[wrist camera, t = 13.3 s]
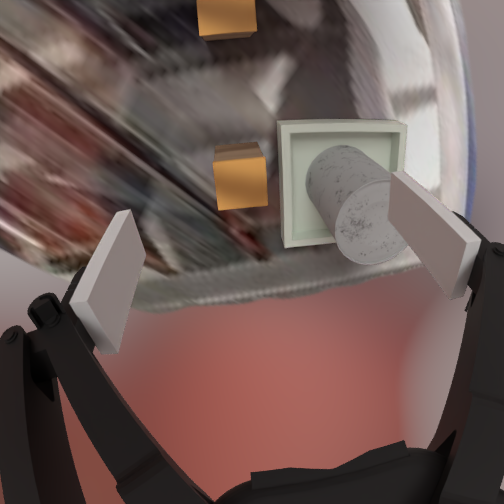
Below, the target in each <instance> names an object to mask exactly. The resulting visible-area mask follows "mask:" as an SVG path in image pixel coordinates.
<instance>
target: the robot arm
mask: <svg viewBox="0 0 504 504" xmlns="http://www.w3.org/2000/svg"><path fill="white" fill-rule="evenodd" d="M388 220H389V221H390V223H391V224H392V225H393V226H394V227H395V229H396V230H397V231H398V232H399V234H400V235H401V236H402V237H403V239H404V240H405V241H406V242H407V244H408V245H409V246H410V247H411V249H412V250H413V251H414V252H415V254H416V255H417V256H418V258H419V259H420V260H421V262H422V263H423V264H424V266H425V267H426V268H427V270H428V271H429V272H430V274H431V275H432V276H433V278H434V279H435V280H436V282H437V283H438V284H439V286H440V287H441V289H442V290H443V292H444V293H445V294H446V296H447V297H448V299H449V300H452V299H456V298H459V297H463V296H464V294H465V291H466V288H467V285H468V286H469V287H470V288H471V289H472V293H471V296H470V298H469V301H468V303H467V306H466V309H465V311H466V312H467V310H468V312H467V318H466V323H465V329H464V334H463V339H462V343H461V348H460V353H459V357H458V361H457V365H456V369H455V373H454V377H453V380H452V384H451V388H450V391H449V394H448V398H447V401H446V404H445V407H444V410H443V414H442V417H441V420H440V423H439V425H438V428H437V431H436V433H435V436H434V438H433V439H432V441H431V443H430V445H429V446H428V448H427V449H422V448H407V447H406V444H405V441H404V440H403V441H400V442H397V443H393V444H390V445H387V446H384V447H380V448H377V449H373V450H370V451H368V452H366V453H364V454H363V455H360V456H359V457H357V458H355V459H353V460H351V461H349V462H347V463H345V464H343V465H341V466H339V467H337V468H334V469H305V468H283V469H276V470H269V471H260V472H251V480H250V481H247V482H244V483H242V484H239V485H237V486H235V487H234V488H232V489H230V490H228V491H227V492H226V493H224V494H223V495H222V496H220V497H219V499H217V500H216V501H215V502H214V501H213V500H212V499H211V498H210V497H209V496H208V495H207V494H206V493H205V492H204V491H203V490H202V489H201V488H200V487H198V486H197V485H196V484H195V483H194V482H193V481H192V480H191V479H190V478H189V477H188V476H187V474H186V473H185V472H184V471H183V470H182V469H181V468H180V467H179V466H178V465H177V464H176V463H175V461H174V460H173V459H172V458H171V457H170V456H169V455H168V454H167V452H166V451H165V450H164V449H163V448H162V447H161V445H160V444H159V443H158V442H157V441H156V439H155V438H154V437H153V436H152V435H151V433H149V431H148V430H147V429H146V427H145V426H144V425H143V423H142V422H141V421H140V420H139V418H138V417H137V416H136V414H135V413H134V412H133V411H132V409H131V408H130V406H129V405H128V404H127V402H126V401H125V400H124V398H123V397H122V396H121V394H120V393H119V391H118V390H117V388H116V387H115V386H114V384H113V383H112V381H111V380H110V378H109V377H108V376H107V374H106V373H105V371H104V369H103V368H102V366H101V365H100V363H99V362H98V360H97V359H96V357H95V356H94V354H93V350H94V347H95V346H96V347H97V348H98V350H99V351H100V353H101V354H118V353H119V348H120V344H121V340H122V336H123V333H124V329H125V325H126V321H127V318H128V314H129V310H130V307H131V303H132V300H133V296H134V293H135V289H136V286H137V283H138V279H139V276H140V273H141V270H142V266H143V263H144V260H145V257H146V253H145V250H144V247H143V245H142V242H141V239H140V236H139V233H138V230H137V227H136V224H135V221H134V218H133V215H132V212H131V209H129V210H125V211H120V212H117V213H116V214H115V216H114V218H113V220H112V221H111V223H110V225H109V227H108V228H107V230H106V232H105V234H104V235H103V237H102V239H101V241H100V243H99V245H98V246H97V248H96V250H95V252H94V254H93V256H92V258H91V260H90V262H89V264H88V265H87V266H86V267H82V268H81V269H80V270H79V271H78V272H77V273H76V274H75V276H74V277H73V279H72V281H71V284H70V285H69V287H68V291H66V293H65V295H64V297H63V299H62V301H61V303H60V301H59V300H58V298H57V296H56V295H55V294H54V293H45V294H43V295H41V296H39V297H38V298H36V299H35V300H34V301H33V302H32V303H31V304H30V306H29V308H28V315H29V317H30V319H31V320H32V321H33V323H34V324H35V326H36V327H37V330H34V331H31V332H29V333H26V332H25V331H24V329H23V328H22V327H21V326H18V325H16V326H12V327H10V328H9V329H7V330H6V331H5V332H4V333H3V335H2V336H1V338H0V475H1V482H2V488H3V495H4V500H5V504H86V501H85V498H84V495H83V492H82V489H81V486H80V482H79V479H78V476H77V472H76V469H75V465H74V461H73V458H72V454H71V450H70V445H69V441H68V437H67V432H66V428H65V423H64V417H63V412H62V407H61V401H60V395H59V388H58V381H57V377H58V379H59V381H60V383H61V385H62V387H63V389H64V391H65V393H66V395H67V397H68V400H69V401H70V403H71V406H72V407H73V409H74V411H75V413H76V415H77V417H78V419H79V421H80V422H81V424H82V426H83V428H84V430H85V431H86V433H87V435H88V437H89V438H90V440H91V442H92V444H93V445H94V447H95V449H96V450H97V451H98V453H99V455H100V456H101V458H102V460H103V461H104V463H105V464H106V466H107V467H108V469H109V471H110V472H111V474H112V475H113V476H114V478H115V480H116V482H117V485H116V489H117V492H118V493H119V495H120V496H121V498H122V499H123V501H124V502H125V503H126V504H504V491H503V490H502V489H500V486H501V483H502V479H503V476H504V244H501V243H497V242H492V243H490V242H489V241H488V240H487V239H486V238H485V237H484V236H483V235H482V234H481V233H480V232H479V231H478V230H477V229H474V226H472V225H471V224H469V222H468V221H467V220H466V219H465V218H464V217H463V216H461V215H459V214H457V213H456V212H454V211H450V210H449V209H448V208H447V207H446V206H445V205H444V204H443V203H441V202H440V201H439V200H438V199H437V198H436V197H435V196H433V195H432V194H431V193H430V192H429V191H427V190H426V189H425V188H424V187H423V186H422V185H420V184H419V183H418V182H417V181H415V180H414V179H413V178H412V177H411V176H409V175H408V174H407V173H406V172H404V171H398V172H391V182H390V197H389V209H388Z"/></svg>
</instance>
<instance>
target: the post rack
mask: <svg viewBox="0 0 504 504" xmlns="http://www.w3.org/2000/svg"><path fill="white" fill-rule="evenodd" d="M197 12H198V24H199V36H202V38H203V39H204V40H205V41H212V40H221V39H232V38H247V37H250V36H251V35H252V34H253V33H254V32H256V31H257V24H256V11H255V0H197ZM213 170H214V178H215V187H216V195H217V203H218V210H227V209H237V208H247V207H257V206H268V196H267V177H266V159H265V157H263V155H262V152H261V150H260V148H259V145H258V143H257V142H250V143H239V144H229V145H219V146H215V156H214V161H213Z"/></svg>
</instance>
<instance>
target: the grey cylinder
mask: <svg viewBox="0 0 504 504" xmlns="http://www.w3.org/2000/svg"><path fill="white" fill-rule="evenodd" d="M390 182H391V173H390V172H388V171H387V170H386V169H384V168H383V167H382V166H380V165H379V164H378V163H376V162H375V161H374V160H372V159H371V158H369V157H368V156H367V155H366V154H365V153H363V152H362V151H361V150H359V149H357V148H356V147H352V146H349V145H338V146H333V147H330V148H328V149H326V150H324V151H323V152H321V153H320V154H319V155H317V156H316V158H315V159H314V160H313V161H312V163H311V164H310V166H309V168H308V171H307V174H306V183H305V185H306V191H307V194H308V196H309V198H310V200H311V201H312V202H313V204H314V205H315V207H316V209H317V210H318V212H319V214H320V215H321V217H322V219H323V220H324V222H325V224H326V225H327V227H328V229H329V231H330V232H331V234H332V236H333V238H334V239H335V241H336V243H337V246H338V248H339V250H340V251H341V252H342V254H343V255H344V256H345V257H347V258H348V259H349V260H351V261H353V262H355V263H358V264H363V265H375V264H380V263H383V262H386V261H388V260H390V259H392V258H394V257H395V256H397V255H398V254H400V253H401V252H402V251H403V250H404V249H405V248H406V247H407V246H408V244H407V242H406V241H405V240H404V239H403V237H402V236H401V235H400V234H399V232H398V231H397V230H396V229H395V227H394V226H393V225H392V224H391V223H390V221H389V220H388V209H389V197H390Z"/></svg>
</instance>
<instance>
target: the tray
mask: <svg viewBox="0 0 504 504" xmlns="http://www.w3.org/2000/svg"><path fill="white" fill-rule="evenodd" d="M406 137H407V125H406V124H403V123H401V122H399V121H396V120H376V119H303V120H280V121H277V140H278V162H279V188H280V219H281V238H282V241H283V244H284V247H285V248H289V247H298V246H308V245H318V244H328V243H336V241H335V239H334V238H333V236H332V234H331V232H330V231H329V229H328V227H327V225H326V224H325V222H324V220H323V219H322V217H321V215H320V214H319V212H318V210H317V209H316V207H315V205H314V204H313V202H312V201H311V200H310V198H309V196H308V194H307V191H306V185H305V183H306V174H307V171H308V168H309V166H310V164H311V163H312V161H313V160H314V159H315V158H316V156H317V155H319V154H320V153H321V152H323V151H324V150H326V149H328V148H330V147H333V146H338V145H349V146H352V147H356V148H357V149H359V150H361V151H362V152H363V153H365V154H366V155H367V156H368V157H369V158H371V159H372V160H374V161H375V162H376V163H378V164H379V165H380V166H382V167H383V168H384V169H386V170H387V171H388V172H390V173H391V172H398V171H404V161H405V150H406Z"/></svg>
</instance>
